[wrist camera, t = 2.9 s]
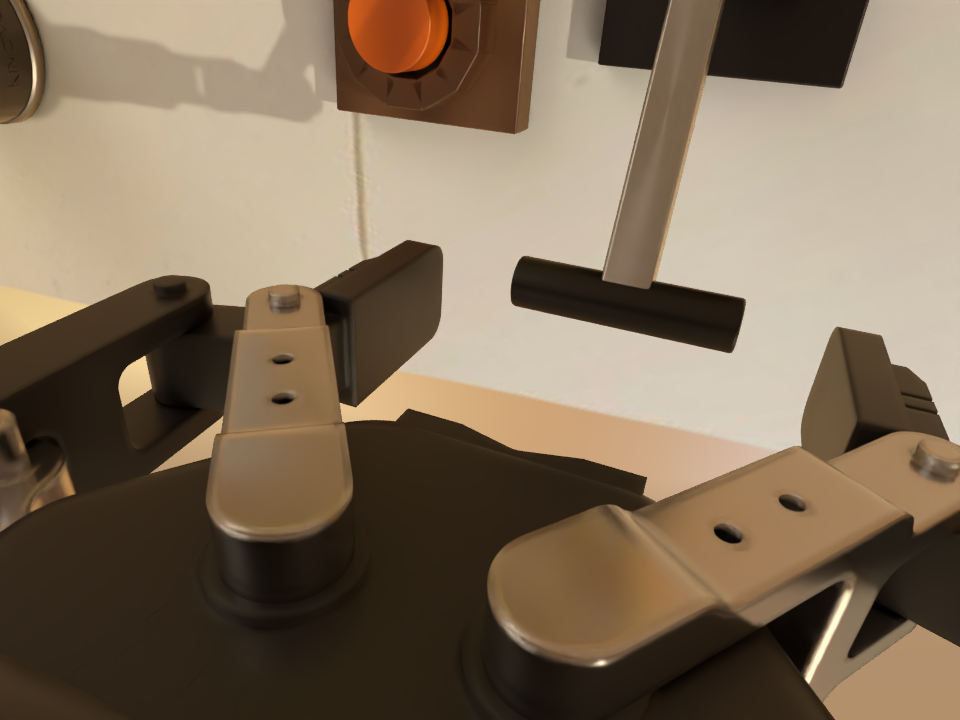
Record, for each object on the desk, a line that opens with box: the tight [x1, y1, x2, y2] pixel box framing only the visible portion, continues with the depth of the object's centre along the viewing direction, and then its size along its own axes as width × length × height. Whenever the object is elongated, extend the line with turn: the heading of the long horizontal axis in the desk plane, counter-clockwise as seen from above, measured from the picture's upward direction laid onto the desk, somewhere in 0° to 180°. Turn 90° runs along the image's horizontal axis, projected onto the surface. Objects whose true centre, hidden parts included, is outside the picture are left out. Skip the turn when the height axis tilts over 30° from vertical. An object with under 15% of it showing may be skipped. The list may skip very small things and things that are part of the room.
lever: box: [511, 0, 746, 353], centre depth 14 cm, size 12×5×2 cm, turn 175°
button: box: [348, 0, 449, 73], centre depth 26 cm, size 4×4×2 cm
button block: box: [333, 0, 540, 134], centre depth 27 cm, size 9×8×4 cm
